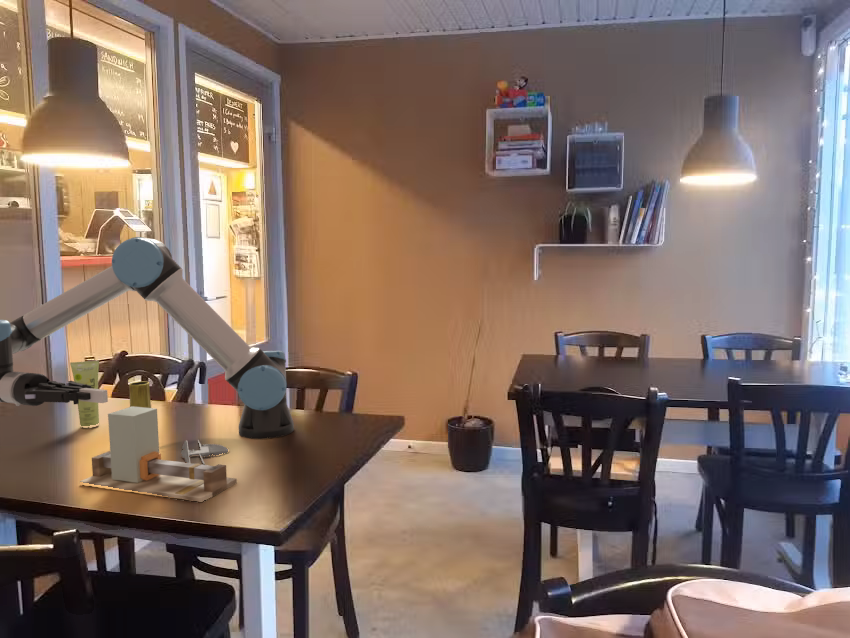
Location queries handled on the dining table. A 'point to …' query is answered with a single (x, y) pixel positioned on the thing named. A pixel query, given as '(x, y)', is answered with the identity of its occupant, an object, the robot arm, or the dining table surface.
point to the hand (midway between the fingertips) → (104, 396)
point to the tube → (89, 376)
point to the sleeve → (133, 443)
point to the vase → (140, 394)
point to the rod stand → (167, 478)
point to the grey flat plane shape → (202, 451)
